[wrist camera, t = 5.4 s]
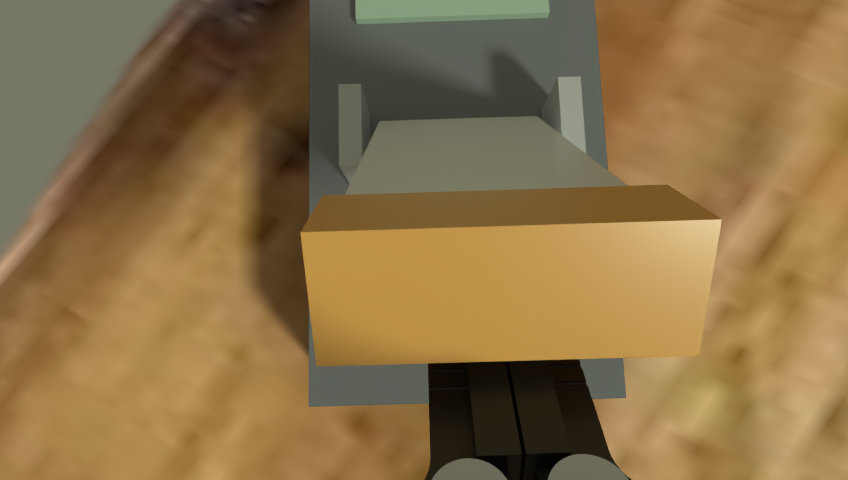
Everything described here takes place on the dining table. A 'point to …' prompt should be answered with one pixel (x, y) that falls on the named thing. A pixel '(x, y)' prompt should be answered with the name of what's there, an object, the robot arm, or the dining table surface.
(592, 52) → the switch box
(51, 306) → the dining table surface
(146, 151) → the dining table surface
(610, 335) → the lever
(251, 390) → the dining table surface
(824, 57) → the dining table surface
